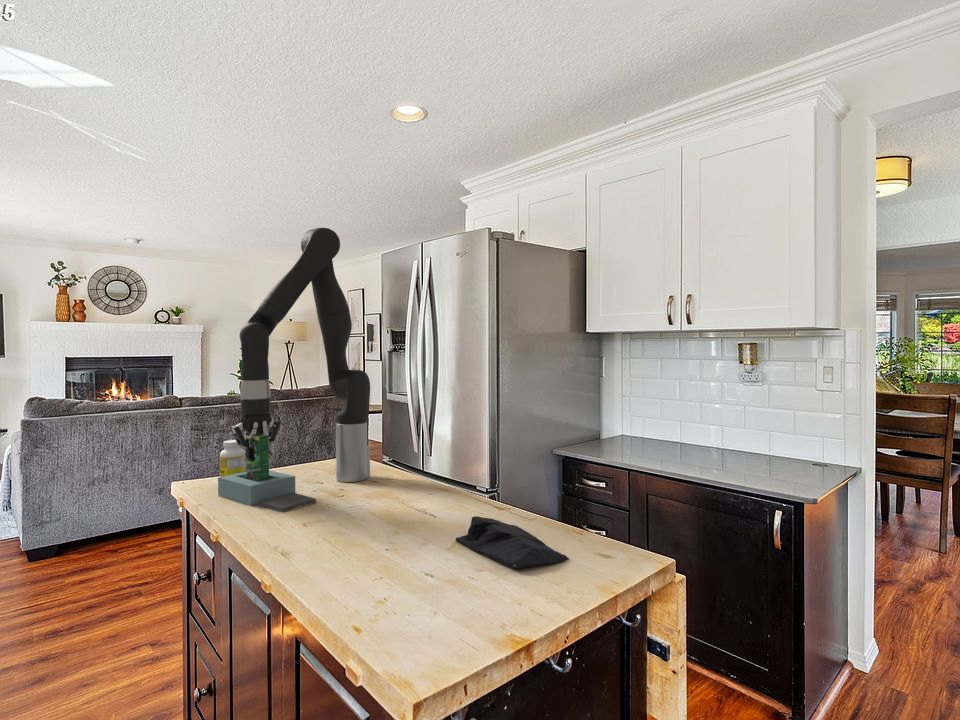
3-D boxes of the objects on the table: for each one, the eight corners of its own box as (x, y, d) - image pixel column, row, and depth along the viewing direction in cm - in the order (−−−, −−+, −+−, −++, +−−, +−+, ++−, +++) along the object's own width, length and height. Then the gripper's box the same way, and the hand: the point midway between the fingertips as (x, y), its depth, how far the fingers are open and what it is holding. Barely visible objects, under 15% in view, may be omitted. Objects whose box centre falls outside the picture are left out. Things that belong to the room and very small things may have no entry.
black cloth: (506, 581, 93) (506, 553, 92) (450, 541, 112) (450, 518, 112) (575, 563, 100) (575, 538, 100) (512, 528, 119) (512, 507, 119)
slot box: (262, 485, 155) (262, 468, 155) (295, 494, 146) (295, 476, 146) (218, 495, 145) (217, 477, 145) (250, 505, 135) (250, 486, 135)
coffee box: (245, 480, 147) (244, 433, 147) (255, 478, 149) (254, 431, 149) (259, 485, 142) (258, 436, 142) (269, 483, 144) (269, 435, 144)
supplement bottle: (220, 483, 158) (219, 440, 158) (244, 481, 161) (244, 438, 161) (220, 488, 152) (219, 443, 152) (245, 486, 155) (244, 442, 154)
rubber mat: (292, 496, 144) (292, 492, 144) (316, 502, 138) (316, 498, 138) (258, 505, 136) (258, 501, 136) (281, 512, 130) (281, 508, 130)
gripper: (271, 393, 153) (272, 453, 153) (222, 398, 141) (224, 462, 142) (286, 395, 148) (288, 456, 149) (237, 399, 137) (239, 466, 138)
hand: (257, 459), depth 145 cm, fingers closed on coffee box, 3 cm apart
